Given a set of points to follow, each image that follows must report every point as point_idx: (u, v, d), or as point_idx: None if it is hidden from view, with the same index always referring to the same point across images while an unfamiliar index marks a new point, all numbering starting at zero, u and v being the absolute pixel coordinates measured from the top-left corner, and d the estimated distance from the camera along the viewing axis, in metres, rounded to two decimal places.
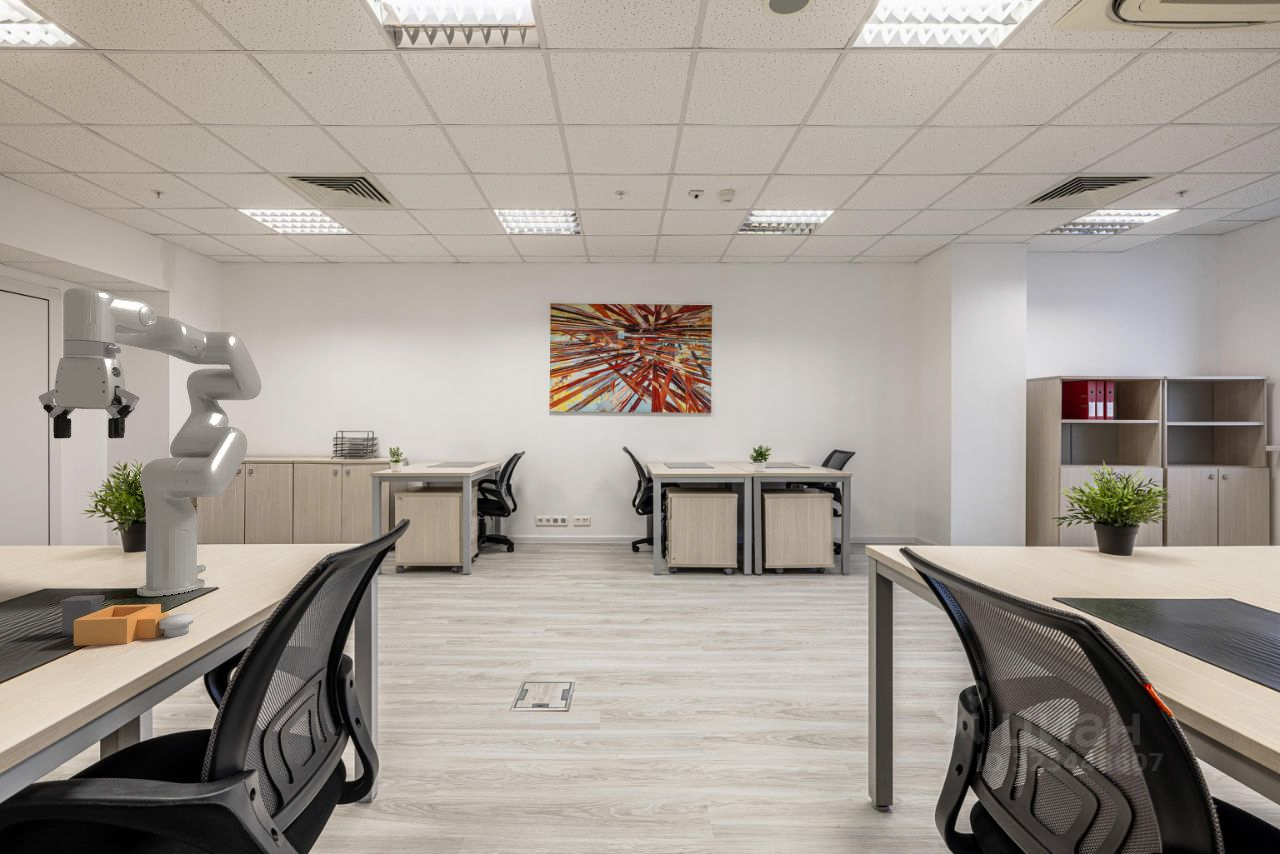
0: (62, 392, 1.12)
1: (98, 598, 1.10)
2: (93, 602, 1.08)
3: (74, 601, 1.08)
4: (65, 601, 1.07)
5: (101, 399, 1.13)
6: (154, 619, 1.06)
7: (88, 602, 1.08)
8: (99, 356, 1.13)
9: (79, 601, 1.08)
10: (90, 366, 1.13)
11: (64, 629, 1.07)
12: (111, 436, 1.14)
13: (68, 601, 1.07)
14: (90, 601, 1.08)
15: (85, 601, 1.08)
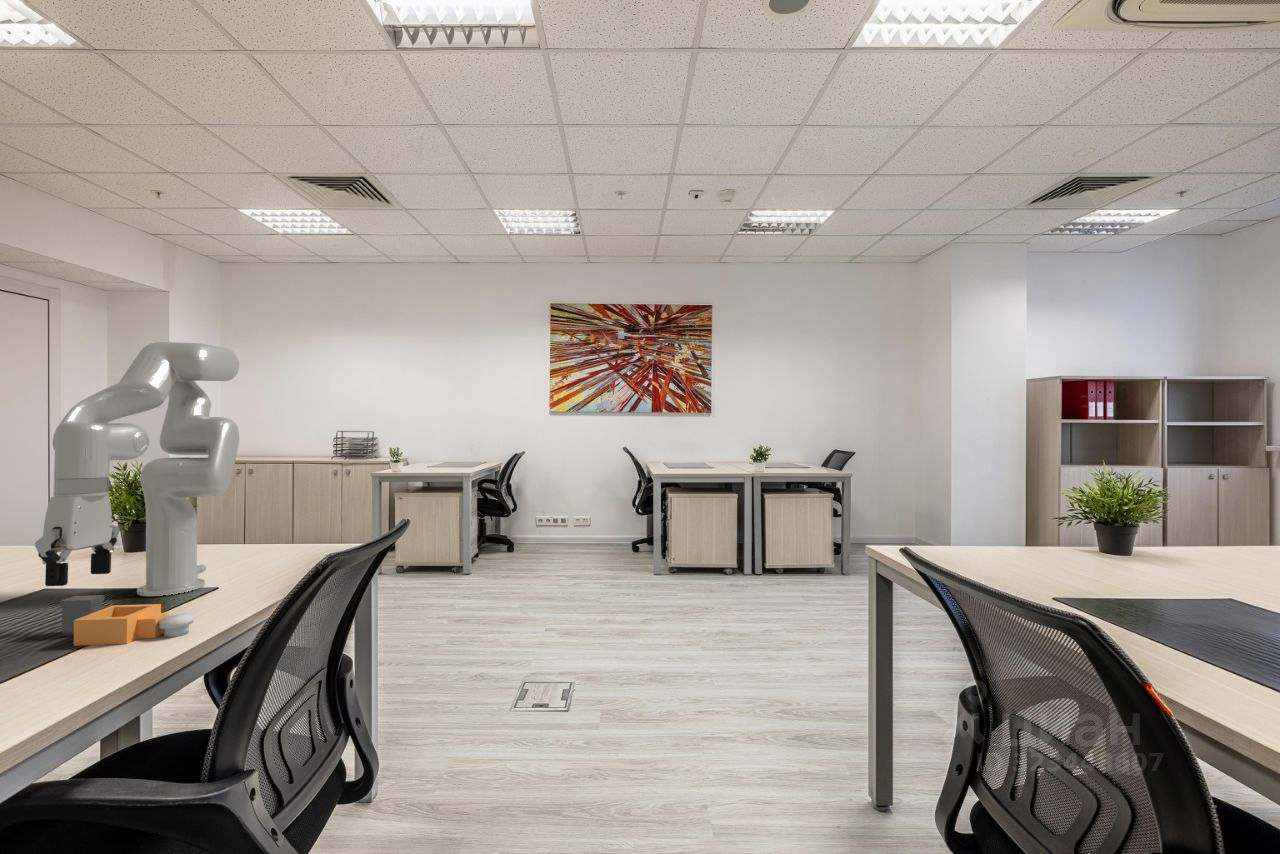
0: (80, 533, 1.06)
1: (98, 598, 1.10)
2: (93, 602, 1.08)
3: (74, 601, 1.08)
4: (65, 601, 1.07)
5: (108, 535, 1.13)
6: (154, 619, 1.06)
7: (88, 602, 1.08)
8: None
9: (79, 601, 1.08)
10: (103, 503, 1.11)
11: (64, 629, 1.07)
12: (109, 571, 1.14)
13: (68, 601, 1.07)
14: (90, 601, 1.08)
15: (85, 601, 1.08)
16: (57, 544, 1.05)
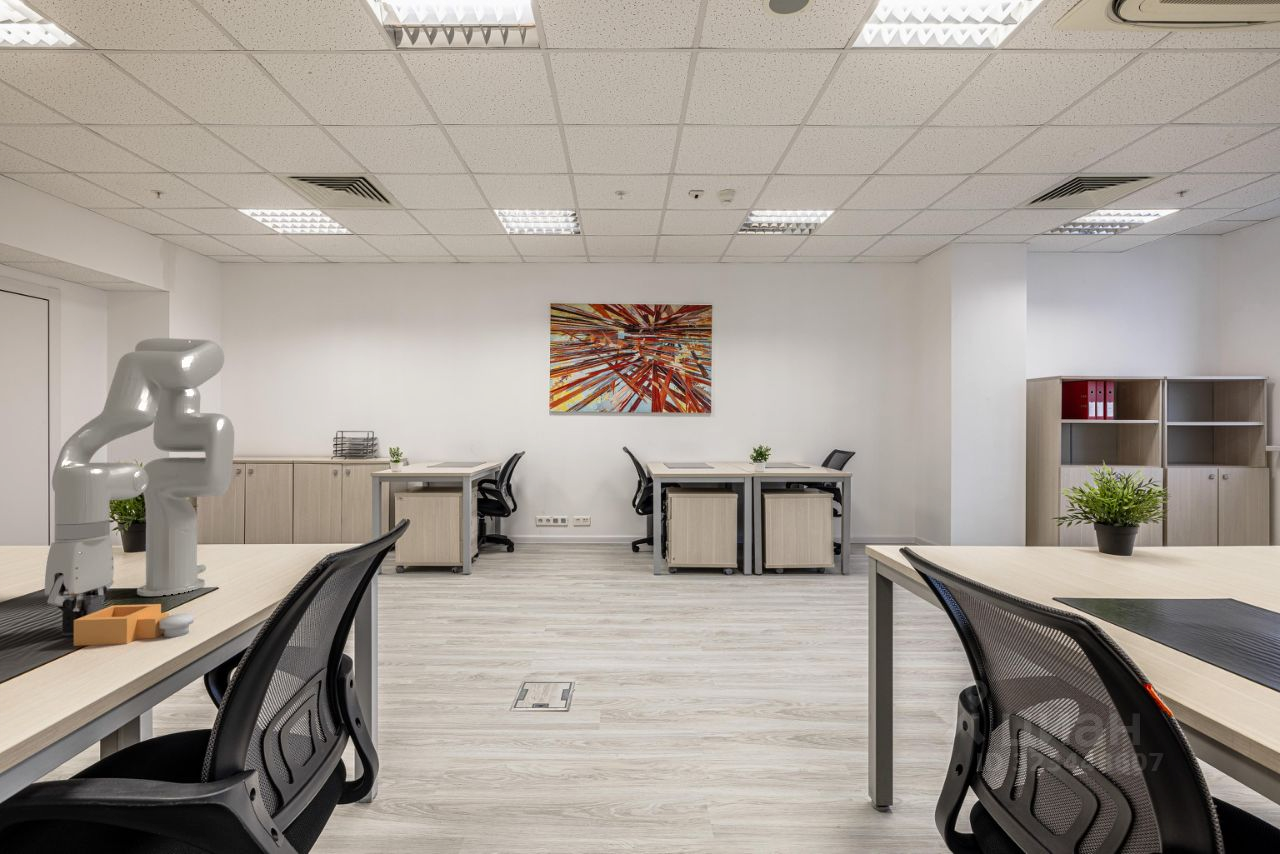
0: (81, 578, 1.06)
1: (98, 598, 1.10)
2: (93, 602, 1.08)
3: None
4: None
5: (110, 576, 1.13)
6: (154, 619, 1.06)
7: (88, 602, 1.08)
8: None
9: None
10: (104, 545, 1.11)
11: None
12: None
13: None
14: (90, 601, 1.08)
15: (85, 601, 1.08)
16: (65, 591, 1.07)
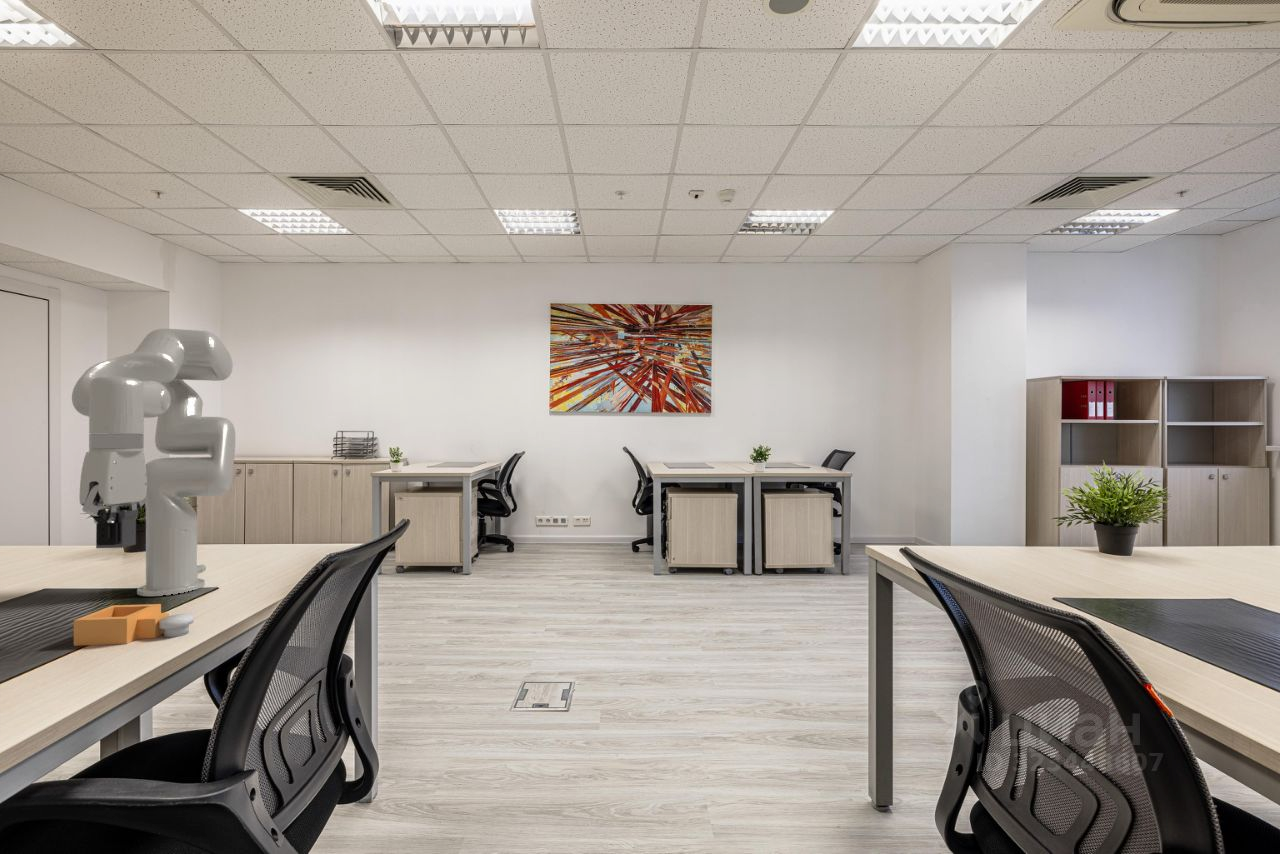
0: (116, 489, 1.04)
1: (132, 512, 1.08)
2: (127, 515, 1.06)
3: None
4: None
5: (143, 492, 1.11)
6: (154, 619, 1.06)
7: (123, 514, 1.06)
8: None
9: None
10: (138, 459, 1.09)
11: None
12: None
13: None
14: (124, 513, 1.06)
15: (119, 513, 1.06)
16: (99, 502, 1.05)
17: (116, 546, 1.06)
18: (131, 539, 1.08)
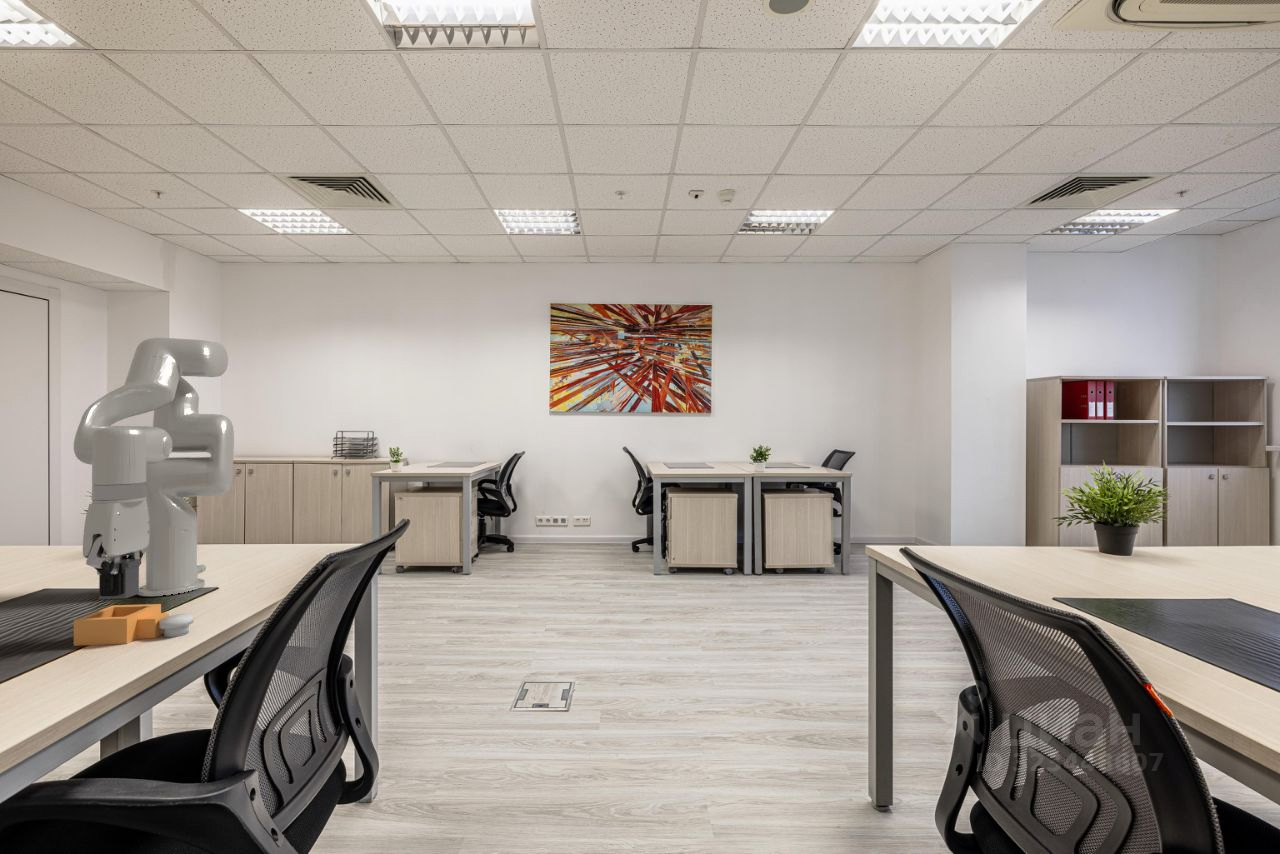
0: (119, 540, 1.04)
1: (135, 561, 1.08)
2: (131, 565, 1.06)
3: None
4: None
5: (146, 540, 1.11)
6: (154, 619, 1.06)
7: (126, 565, 1.06)
8: None
9: None
10: (141, 508, 1.09)
11: None
12: None
13: None
14: (128, 564, 1.06)
15: (123, 564, 1.06)
16: (102, 553, 1.05)
17: (119, 597, 1.06)
18: (134, 589, 1.08)
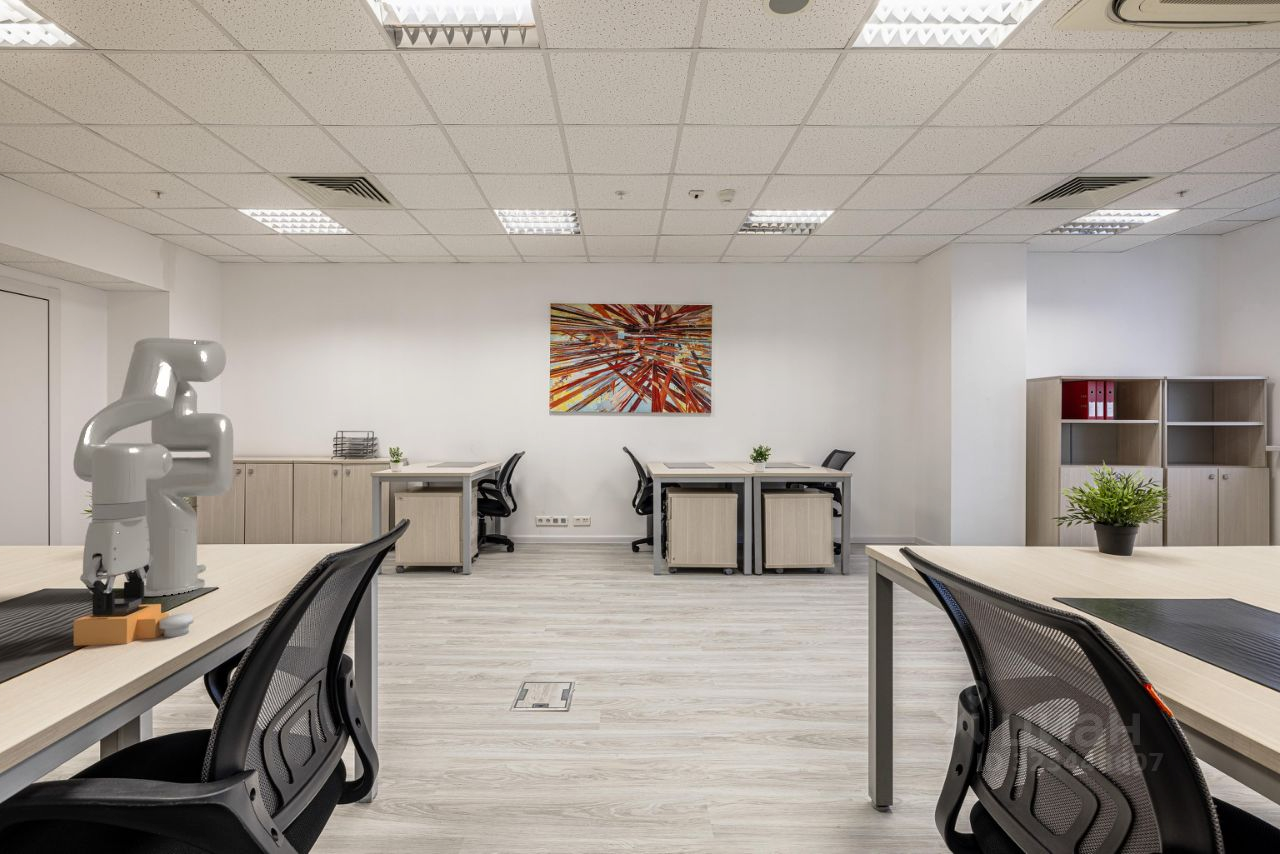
0: (119, 559, 1.04)
1: (136, 601, 1.08)
2: (131, 605, 1.07)
3: None
4: None
5: (146, 558, 1.11)
6: (154, 619, 1.06)
7: (126, 605, 1.06)
8: None
9: (117, 604, 1.06)
10: (141, 526, 1.09)
11: None
12: (143, 600, 1.11)
13: None
14: (128, 604, 1.06)
15: (123, 604, 1.06)
16: (99, 572, 1.04)
17: None
18: None
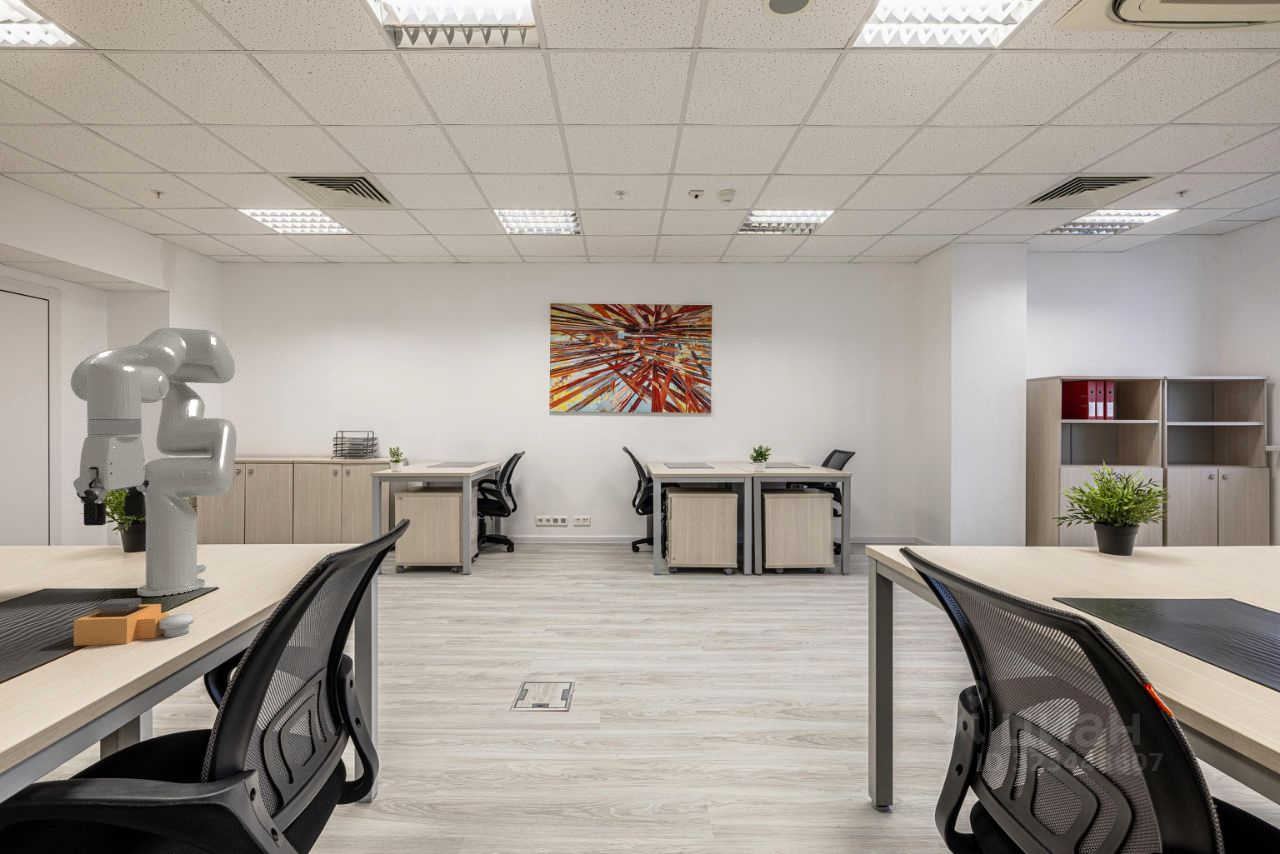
0: (116, 474, 1.06)
1: (136, 601, 1.08)
2: (131, 605, 1.07)
3: (112, 604, 1.06)
4: (103, 604, 1.05)
5: (142, 477, 1.12)
6: (154, 619, 1.06)
7: (126, 605, 1.06)
8: None
9: (117, 604, 1.06)
10: (137, 444, 1.11)
11: None
12: (144, 513, 1.14)
13: (106, 604, 1.06)
14: (128, 604, 1.06)
15: (123, 604, 1.06)
16: (93, 484, 1.05)
17: None
18: None
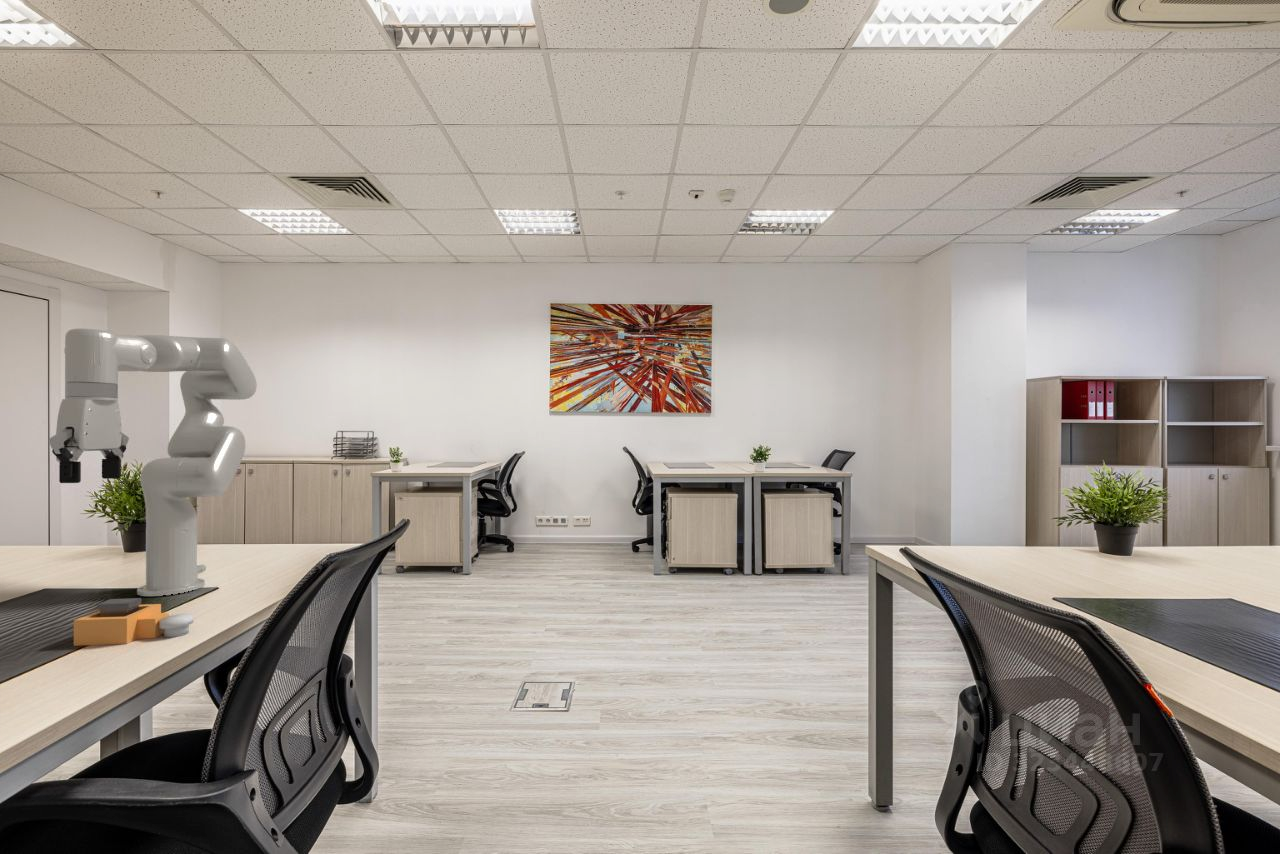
0: (91, 435, 1.10)
1: (136, 601, 1.08)
2: (131, 605, 1.07)
3: (112, 604, 1.06)
4: (103, 604, 1.05)
5: (118, 441, 1.17)
6: (154, 619, 1.06)
7: (126, 605, 1.06)
8: None
9: (117, 604, 1.06)
10: (113, 409, 1.15)
11: None
12: (120, 476, 1.18)
13: (106, 604, 1.06)
14: (128, 604, 1.06)
15: (123, 604, 1.06)
16: (70, 444, 1.09)
17: None
18: None
